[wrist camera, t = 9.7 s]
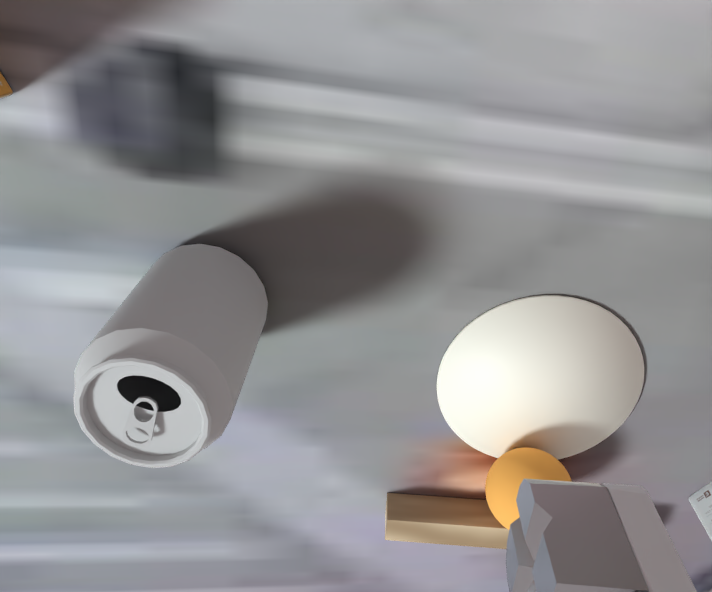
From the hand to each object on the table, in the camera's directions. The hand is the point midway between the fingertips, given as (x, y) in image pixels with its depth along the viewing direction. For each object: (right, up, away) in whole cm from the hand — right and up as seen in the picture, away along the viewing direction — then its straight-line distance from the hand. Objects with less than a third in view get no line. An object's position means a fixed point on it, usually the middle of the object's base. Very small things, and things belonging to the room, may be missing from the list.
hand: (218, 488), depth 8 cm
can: (-7, +3, +30) cm, 31 cm away
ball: (+13, -10, +32) cm, 36 cm away
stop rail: (+13, -13, +37) cm, 41 cm away
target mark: (+14, -3, +32) cm, 34 cm away
